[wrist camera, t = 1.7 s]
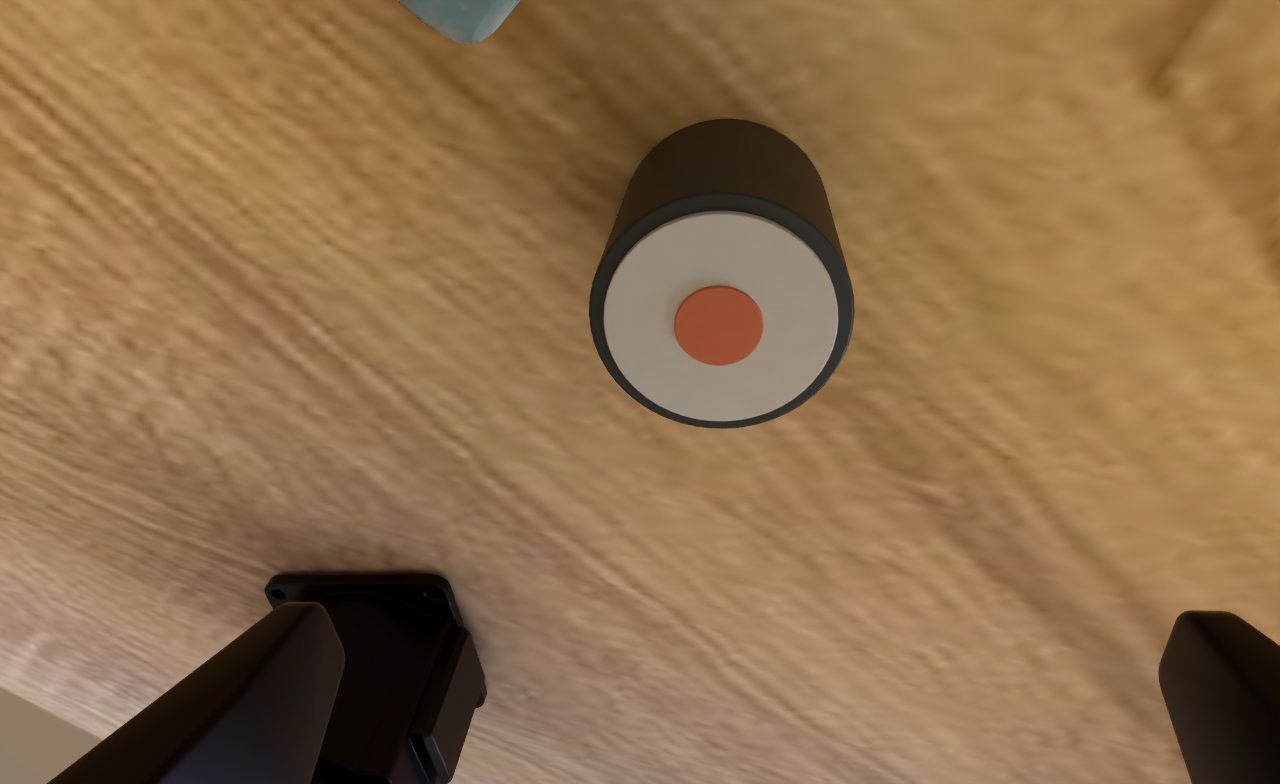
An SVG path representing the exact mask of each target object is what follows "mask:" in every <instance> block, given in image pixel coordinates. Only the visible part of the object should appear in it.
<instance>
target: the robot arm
mask: <svg viewBox="0 0 1280 784" xmlns="http://www.w3.org/2000/svg"><path fill="white" fill-rule="evenodd" d="M433 589H434V590H433ZM264 591H265V594H266V596H267V598H268V600H269V602H270V604H271V606H272V608H273V611H271V612H270V613H269V614H268V615H266V616H265V617H264V618H262V619H261V620H260V621H258V622H257V623H256V624H254V625H253V626H252V627H251V628H249V629H248V630H247V631H245V632H244V633H243V634H241V635H240V636H239V637H238V638H236V639H235V640H234V641H232V642H231V643H230V644H228V645H227V646H226V647H224V648H223V649H222V650H221V651H219V652H218V653H217V654H215V655H214V656H213V657H211V658H210V659H209V660H208V661H206V662H205V663H204V664H202V665H201V666H200V667H198V668H197V669H196V670H194V671H193V672H192V673H191V674H189V675H188V676H187V677H185V678H184V679H183V680H181V681H180V682H179V683H178V684H176V685H175V686H174V687H172V688H171V689H170V690H168V691H167V692H166V693H164V694H163V695H162V696H161V697H159V698H158V699H157V700H155V701H154V702H153V703H151V704H150V705H149V706H147V707H146V708H145V709H144V710H142V711H141V712H140V713H138V714H137V715H136V716H134V717H133V718H132V719H131V720H129V721H128V722H127V723H125V724H124V725H123V726H121V727H120V728H119V729H117V730H116V731H115V732H114V733H112V734H111V735H110V736H108V737H107V738H106V739H104V740H103V741H102V742H101V743H99V744H98V745H97V746H95V747H94V748H93V749H91V750H90V751H89V752H88V753H86V754H85V755H84V756H82V757H81V758H80V759H78V760H77V761H76V762H75V763H73V764H72V765H71V766H69V767H68V768H67V769H65V770H64V771H63V772H61V773H60V774H59V775H57V776H56V777H55V778H54V779H52V780H51V781H50V782H48V783H47V784H448V783H449V782H450V781H451V780H452V778H453V775H454V772H455V769H456V766H457V763H458V760H459V757H460V754H461V750H462V747H463V744H464V741H465V738H466V735H467V732H468V729H469V726H470V723H471V720H472V716H473V713H474V710H475V708H479V707H481V706H482V705H483V704H484V701H485V698H486V695H487V690H486V687H485V684H484V679H485V675H484V673H483V670H482V667H481V664H480V661H479V658H478V655H477V652H476V649H475V646H474V643H473V640H472V638H471V635H470V632H469V631H468V630H467V629H466V627H465V626H464V624H463V621H462V618H461V615H460V612H459V609H458V606H457V603H456V600H455V598H454V595H453V592H452V589H451V586H450V584H449V582H448V581H447V580H446V579H445V578H443V577H441V576H439V575H434V574H384V575H276V576H274V577H272V578H271V579H270V581H269V582H268V584H267V585H266V587H265V590H264ZM1159 682H1160V687H1161V691H1162V694H1163V697H1164V700H1165V703H1166V706H1167V709H1168V712H1169V715H1170V718H1171V721H1172V725H1173V728H1174V731H1175V734H1176V737H1177V740H1178V743H1179V746H1180V749H1181V752H1182V755H1183V758H1184V761H1185V764H1186V767H1187V770H1188V773H1189V776H1190V779H1191V782H1192V784H1280V646H1279V645H1278V644H1277V643H1275V642H1274V641H1272V640H1271V639H1270V638H1268V637H1267V636H1265V635H1264V634H1263V633H1261V632H1260V631H1258V630H1257V629H1256V628H1254V627H1253V626H1252V625H1250V624H1249V623H1247V622H1246V621H1245V620H1243V619H1242V618H1240V617H1238V616H1237V615H1235V614H1233V613H1230V612H1226V611H1185V612H1183V613H1182V614H1181V615H1179V616H1178V618H1177V620H1176V622H1175V624H1174V627H1173V629H1172V632H1171V635H1170V637H1169V640H1168V643H1167V645H1166V648H1165V651H1164V653H1163V656H1162V658H1161V661H1160V665H1159Z"/></svg>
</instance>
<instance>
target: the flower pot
mask: <svg viewBox="0 0 1280 784" xmlns="http://www.w3.org/2000/svg"><path fill="white" fill-rule="evenodd" d="M397 1H398V2H399V3H400V4H402V5H403V6H404V7H405V8H406V9H407V10H409V11H410V12H411V13H412V14H414V15H415V16H416V17H417V18H418V19H420V20H421V21H422V22H424V23H425V24H427V25H429V26H430V27H432V28H433V29H435V30H436V31H438V32H439V33H441V34H443V35H444V36H446V37H447V38H450V39H452V40H455V41H458V42H461V43H463V44H471V43H479V42H480V41H482V40H483V39H485V38H486V37H488V36H490V35H491V34H493V33H494V32H495V31H496V30H497V28H498V27H499V26H500V25H501V24H502V22H503V21H504V20H505V19H506V17H507V16H508V15H509V14H510V13H511V11H512V10H513V9H514V8H515V7H516V6H517V4H518V3H519V2H520V1H521V0H397Z"/></svg>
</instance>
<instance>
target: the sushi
mask: <svg viewBox="0 0 1280 784" xmlns="http://www.w3.org/2000/svg"><path fill="white" fill-rule="evenodd" d="M589 318H590V328H591V332H592V336H593V340H594V343H595V346H596V349H597V351H598V354H599V356H600V358H601V360H602V361H603V363H604V365H605V367H606V369H607V370H608V372H609V373H610V374H611V376H612V377H613V378H614V380H615V381H616V382H617V383H618V384H619V385H620V386H621V387H622V388H623V389H624V391H625V392H626V393H628V394H629V395H630V396H631V397H632V398H634V399H635V400H636V401H637V402H639V403H640V404H642V405H643V406H645V407H646V408H648V409H650V410H651V411H653V412H655V413H657V414H659V415H661V416H663V417H666V418H668V419H671V420H674V421H677V422H680V423H684V424H688V425H692V426H697V427H705V428H725V429H727V428H738V427H746V426H751V425H756V424H760V423H763V422H766V421H769V420H773V419H775V418H777V417H779V416H782V415H784V414H786V413H788V412H790V411H792V410H793V409H795V408H797V407H798V406H800V405H802V404H803V403H804V402H806V401H807V400H808V399H810V398H811V397H812V396H814V395H815V394H816V393H817V392H818V391H819V390H820V389H821V388H822V387H823V386H824V385H825V384H826V382H827V381H828V380H829V379H830V377H831V376H832V375H833V373H834V372H835V371H836V369H837V367H838V366H839V364H840V362H841V361H842V359H843V357H844V354H845V352H846V350H847V347H848V345H849V342H850V338H851V334H852V330H853V322H854V296H853V291H852V286H851V281H850V277H849V274H848V270H847V267H846V263H845V259H844V256H843V252H842V249H841V245H840V242H839V238H838V235H837V231H836V228H835V224H834V220H833V217H832V213H831V210H830V206H829V203H828V199H827V196H826V192H825V189H824V186H823V183H822V181H821V178H820V176H819V174H818V172H817V170H816V168H815V166H814V165H813V164H812V162H811V161H810V159H809V158H808V157H807V155H806V154H805V153H804V152H803V151H802V150H801V149H800V148H799V147H798V146H797V145H796V144H795V143H793V142H792V141H791V140H789V139H788V138H787V137H785V136H784V135H782V134H780V133H778V132H777V131H775V130H773V129H771V128H768V127H766V126H763V125H761V124H757V123H753V122H749V121H744V120H735V119H720V120H711V121H705V122H701V123H698V124H694V125H691V126H688V127H686V128H684V129H681V130H679V131H677V132H675V133H674V134H672V135H670V136H669V137H667V138H666V139H664V140H663V141H662V142H660V143H659V144H658V145H657V146H656V147H654V148H653V149H652V150H651V151H650V153H649V154H648V155H647V156H646V157H645V158H644V159H643V161H642V162H641V164H640V165H639V166H638V168H637V169H636V171H635V173H634V175H633V177H632V179H631V181H630V183H629V186H628V188H627V191H626V194H625V196H624V199H623V202H622V204H621V207H620V210H619V212H618V215H617V218H616V220H615V223H614V226H613V228H612V231H611V234H610V236H609V239H608V242H607V244H606V247H605V250H604V252H603V255H602V258H601V260H600V263H599V266H598V268H597V271H596V274H595V277H594V280H593V283H592V288H591V293H590V301H589Z"/></svg>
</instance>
